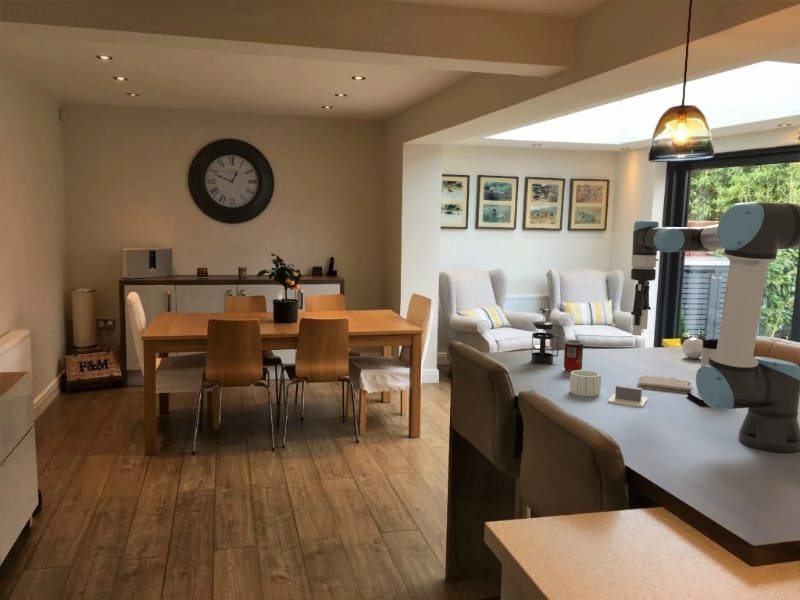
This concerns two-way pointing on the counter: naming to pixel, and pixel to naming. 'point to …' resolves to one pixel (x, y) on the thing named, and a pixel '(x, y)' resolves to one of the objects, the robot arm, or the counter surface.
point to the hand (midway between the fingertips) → (639, 332)
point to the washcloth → (664, 384)
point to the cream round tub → (585, 383)
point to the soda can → (573, 355)
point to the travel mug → (708, 350)
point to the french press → (543, 342)
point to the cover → (628, 396)
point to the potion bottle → (692, 348)
